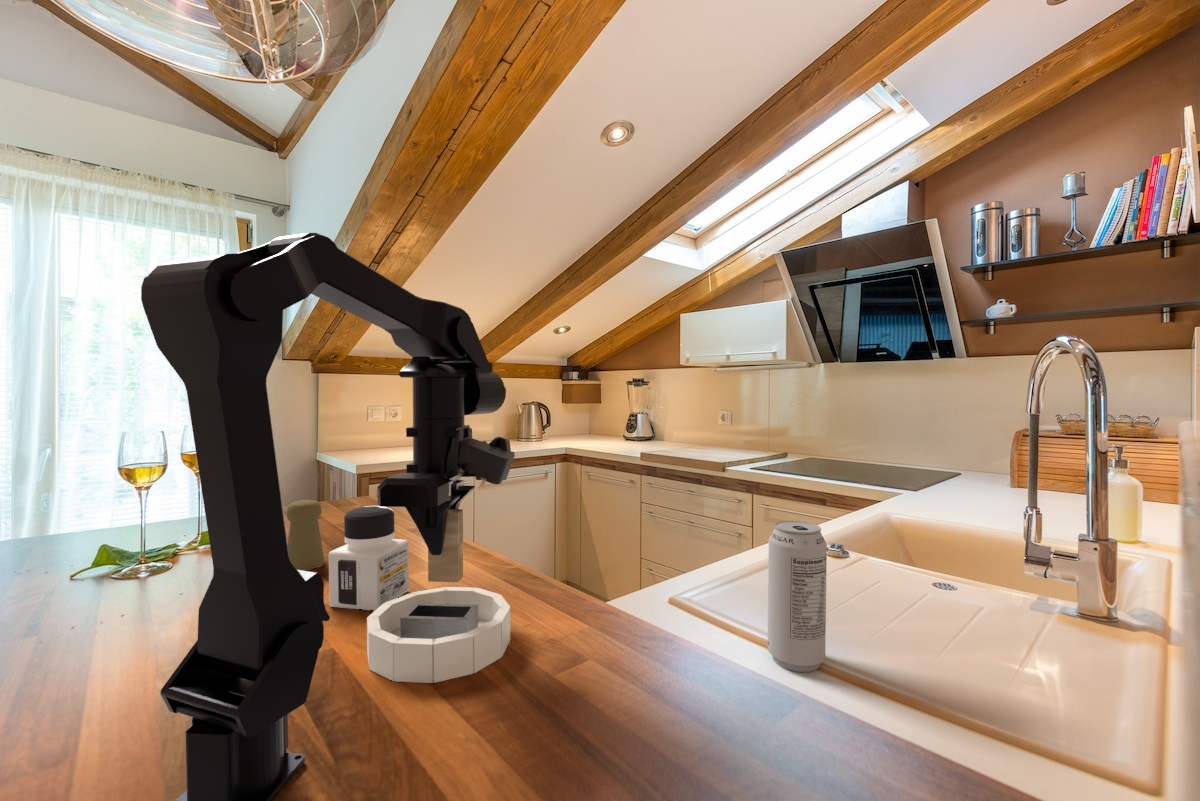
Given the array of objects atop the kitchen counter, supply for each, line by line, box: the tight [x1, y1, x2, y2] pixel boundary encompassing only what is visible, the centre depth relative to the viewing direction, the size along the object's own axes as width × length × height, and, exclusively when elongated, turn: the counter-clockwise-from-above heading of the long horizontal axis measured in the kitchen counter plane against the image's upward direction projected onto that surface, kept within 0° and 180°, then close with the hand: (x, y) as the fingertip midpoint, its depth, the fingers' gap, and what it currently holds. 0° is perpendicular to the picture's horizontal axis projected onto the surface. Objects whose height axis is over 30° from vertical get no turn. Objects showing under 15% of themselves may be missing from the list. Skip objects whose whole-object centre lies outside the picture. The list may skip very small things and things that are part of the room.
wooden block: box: [427, 508, 464, 583], centre depth 63 cm, size 2×4×8 cm, turn 86°
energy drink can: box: [767, 520, 828, 673], centre depth 60 cm, size 6×6×15 cm
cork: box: [285, 499, 326, 571], centre depth 92 cm, size 6×6×11 cm
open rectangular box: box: [400, 603, 478, 639], centre depth 64 cm, size 5×8×3 cm, turn 86°
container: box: [328, 505, 410, 612], centre depth 77 cm, size 8×8×13 cm
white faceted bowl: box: [366, 586, 511, 684], centre depth 64 cm, size 16×16×4 cm
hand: (439, 551), depth 63 cm, fingers closed on wooden block, 2 cm apart
